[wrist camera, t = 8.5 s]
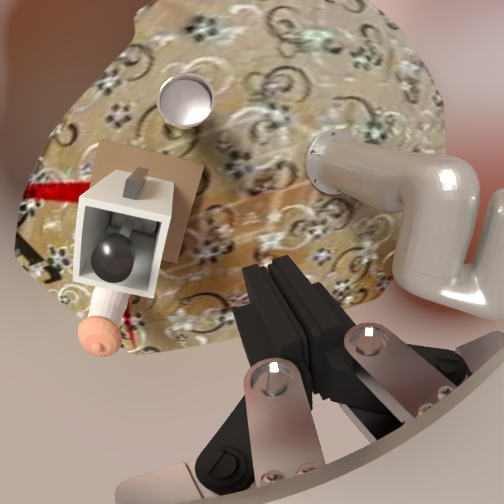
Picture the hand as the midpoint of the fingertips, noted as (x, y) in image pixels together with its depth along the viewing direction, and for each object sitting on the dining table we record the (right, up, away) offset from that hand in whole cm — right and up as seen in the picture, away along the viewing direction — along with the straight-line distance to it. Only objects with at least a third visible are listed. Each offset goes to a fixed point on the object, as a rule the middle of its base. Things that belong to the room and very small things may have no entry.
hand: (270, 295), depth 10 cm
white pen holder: (-20, +10, +34) cm, 41 cm away
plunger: (-19, +9, +32) cm, 38 cm away
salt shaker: (-27, -4, +39) cm, 48 cm away
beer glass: (-12, +25, +30) cm, 40 cm away
